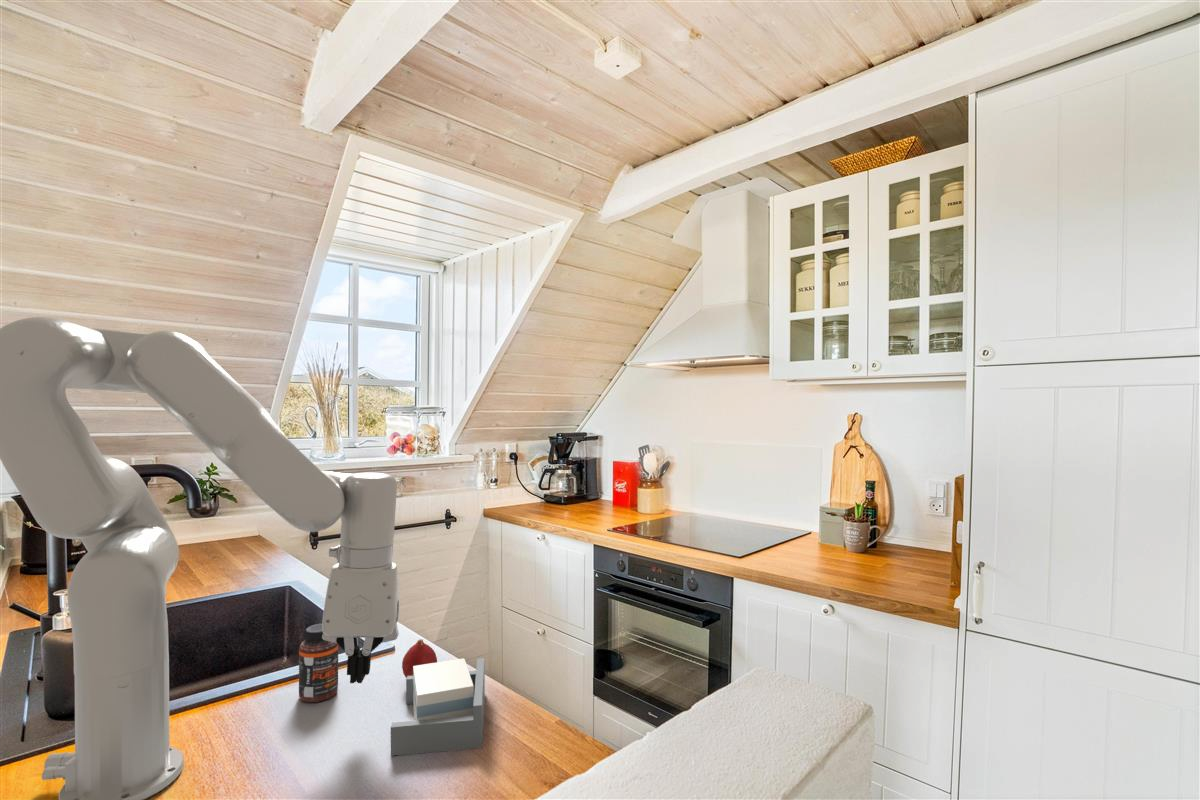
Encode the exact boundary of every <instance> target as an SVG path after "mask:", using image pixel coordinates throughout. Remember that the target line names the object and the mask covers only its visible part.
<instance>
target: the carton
mask: <svg viewBox="0 0 1200 800" xmlns="http://www.w3.org/2000/svg"><path fill="white" fill-rule="evenodd" d="M469 671H470V670H469V669H468V665H467V663H466V659H465V657H464V658H463V657H462V658H457V659H456V658H455V659H450V660H443V661H437V662H436V663H430V664H423V665H417V666H413V704H412V706H413V708H412V709H413V716H414V721H417V720H429V719H440V718H451V717H463V716H473V703H474V686H473V683H472V680H471V677H470V674H469Z"/></svg>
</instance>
